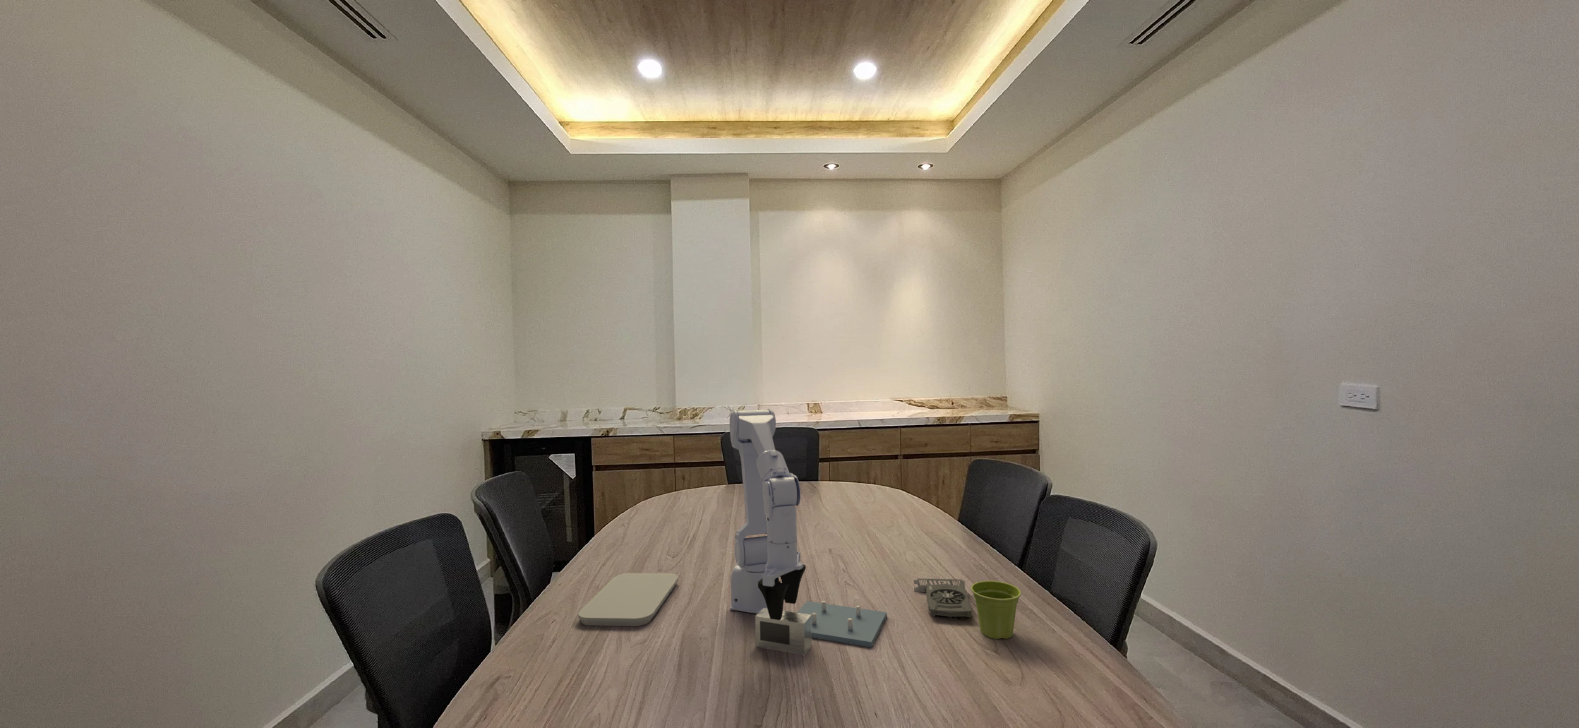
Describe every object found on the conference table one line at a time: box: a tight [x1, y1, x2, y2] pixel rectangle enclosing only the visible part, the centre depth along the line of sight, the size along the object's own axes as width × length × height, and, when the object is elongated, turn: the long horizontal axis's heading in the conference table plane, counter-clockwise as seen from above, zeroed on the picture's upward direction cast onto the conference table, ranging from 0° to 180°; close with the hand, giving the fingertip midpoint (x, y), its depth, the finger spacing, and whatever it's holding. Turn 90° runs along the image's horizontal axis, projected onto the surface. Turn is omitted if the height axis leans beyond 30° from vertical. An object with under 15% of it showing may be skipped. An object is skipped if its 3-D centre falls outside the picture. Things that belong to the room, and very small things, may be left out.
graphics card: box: [913, 577, 973, 620], centre depth 129 cm, size 17×4×12 cm
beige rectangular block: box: [754, 608, 813, 656], centre depth 111 cm, size 10×4×6 cm, turn 69°
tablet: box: [577, 572, 679, 627], centre depth 134 cm, size 16×26×2 cm, turn 176°
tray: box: [796, 600, 888, 648], centre depth 120 cm, size 18×14×3 cm
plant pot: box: [970, 580, 1022, 640], centre depth 115 cm, size 9×9×9 cm
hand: (783, 610), depth 111 cm, fingers open, 7 cm apart
